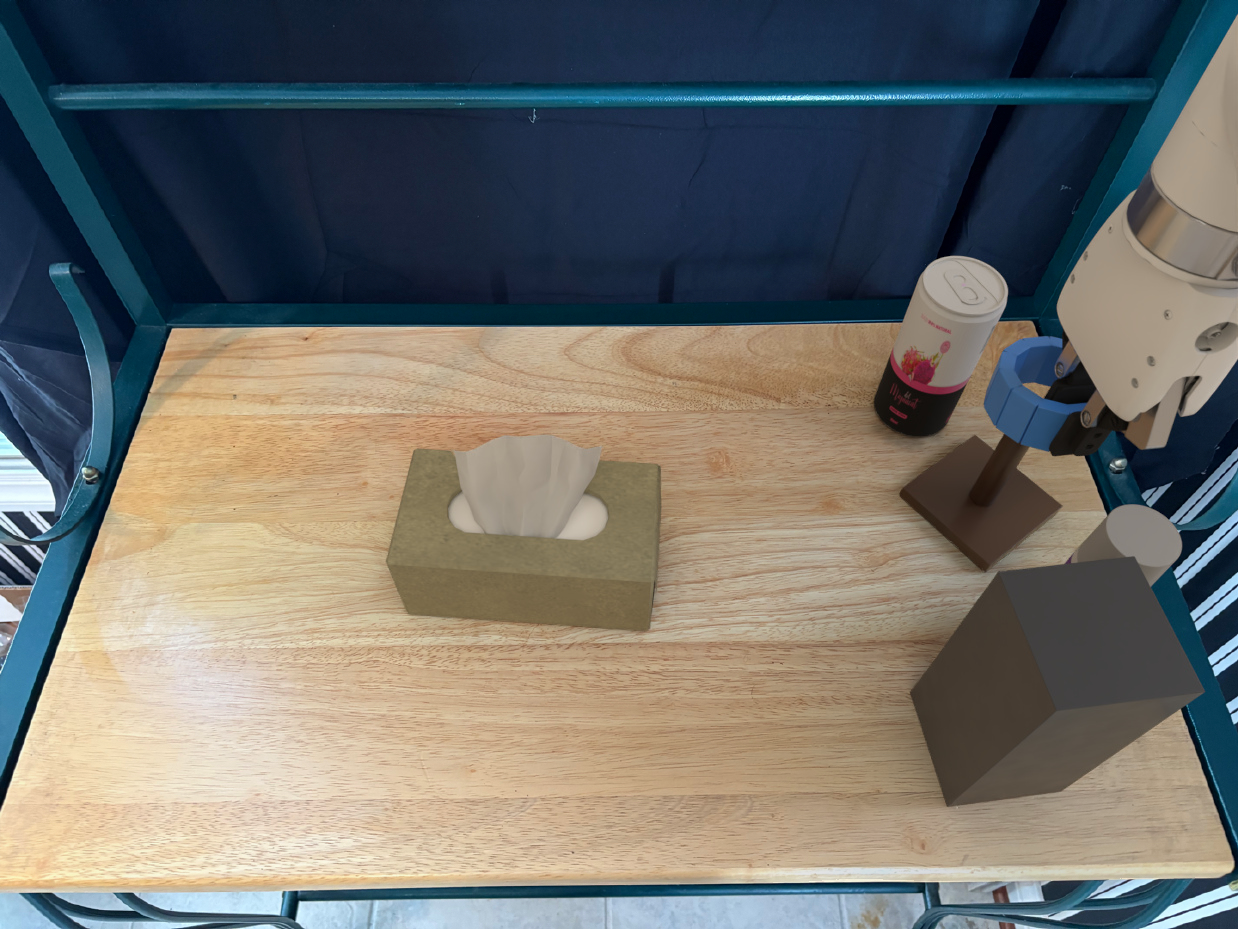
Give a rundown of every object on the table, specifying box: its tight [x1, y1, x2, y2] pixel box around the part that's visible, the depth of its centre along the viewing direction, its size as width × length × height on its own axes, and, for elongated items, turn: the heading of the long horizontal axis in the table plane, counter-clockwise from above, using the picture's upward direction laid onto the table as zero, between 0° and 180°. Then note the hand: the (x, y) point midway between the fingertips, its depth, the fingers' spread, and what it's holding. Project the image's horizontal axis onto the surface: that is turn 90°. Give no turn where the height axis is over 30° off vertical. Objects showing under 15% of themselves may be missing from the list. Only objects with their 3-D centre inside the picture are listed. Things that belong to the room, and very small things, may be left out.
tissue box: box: [385, 433, 662, 632], centre depth 64 cm, size 19×10×16 cm, turn 86°
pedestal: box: [909, 556, 1206, 808], centre depth 56 cm, size 8×8×18 cm
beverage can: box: [873, 255, 1009, 438], centre depth 74 cm, size 7×7×15 cm
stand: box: [898, 433, 1063, 573], centre depth 69 cm, size 9×9×12 cm
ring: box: [983, 335, 1087, 453], centre depth 62 cm, size 8×8×4 cm
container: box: [1064, 503, 1183, 588], centre depth 61 cm, size 5×5×15 cm
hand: (1063, 434), depth 61 cm, fingers closed
